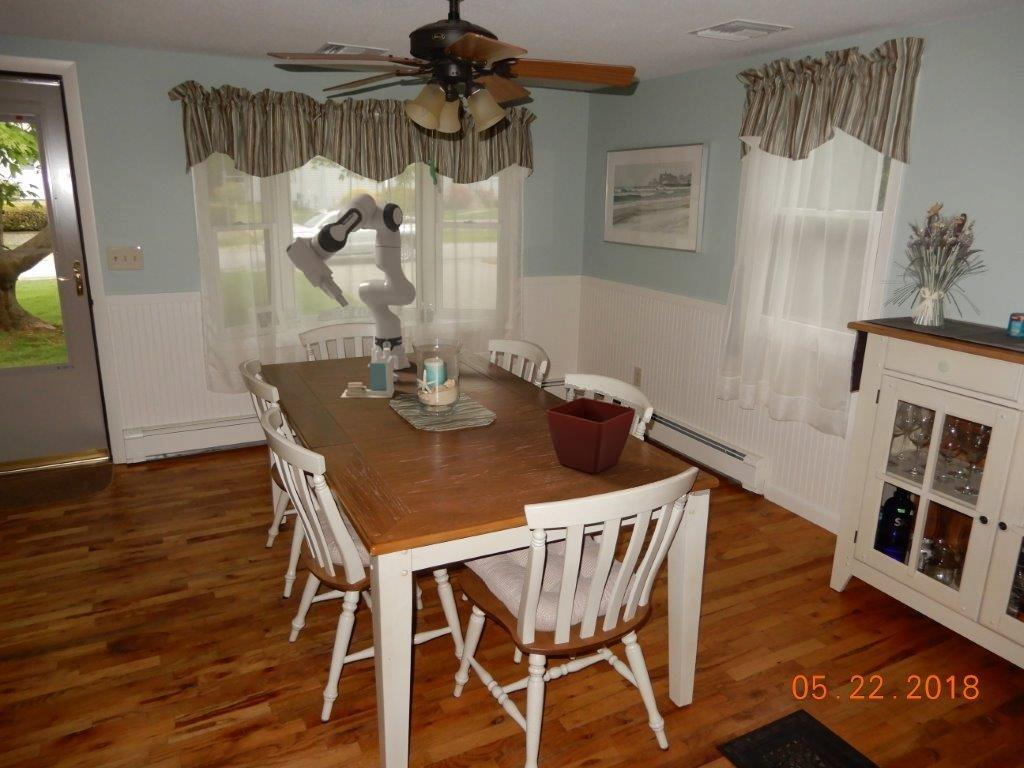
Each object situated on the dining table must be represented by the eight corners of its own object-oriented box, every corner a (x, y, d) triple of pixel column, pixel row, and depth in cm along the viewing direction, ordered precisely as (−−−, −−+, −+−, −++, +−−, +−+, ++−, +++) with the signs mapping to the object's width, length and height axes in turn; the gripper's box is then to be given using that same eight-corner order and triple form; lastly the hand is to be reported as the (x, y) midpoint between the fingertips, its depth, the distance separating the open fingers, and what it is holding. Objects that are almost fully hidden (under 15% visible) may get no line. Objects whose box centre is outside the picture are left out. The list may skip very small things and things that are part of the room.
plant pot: (580, 447, 224) (582, 396, 219) (633, 462, 212) (636, 408, 208) (543, 464, 209) (544, 409, 205) (598, 481, 198) (601, 423, 193)
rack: (346, 393, 279) (344, 355, 275) (394, 393, 280) (393, 355, 276) (340, 401, 268) (338, 362, 264) (391, 401, 269) (390, 362, 265)
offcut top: (348, 387, 275) (348, 382, 274) (362, 386, 276) (362, 382, 275) (347, 391, 269) (347, 387, 268) (362, 391, 270) (361, 386, 269)
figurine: (401, 384, 292) (401, 348, 288) (380, 387, 287) (378, 351, 283) (395, 380, 298) (394, 345, 294) (373, 383, 293) (372, 347, 289)
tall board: (371, 392, 274) (370, 362, 271) (386, 392, 275) (386, 362, 272) (370, 393, 273) (369, 363, 270) (386, 394, 273) (385, 363, 270)
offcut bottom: (349, 390, 277) (349, 385, 277) (366, 390, 277) (366, 386, 277) (345, 396, 269) (345, 391, 269) (363, 396, 270) (363, 391, 269)
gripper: (329, 269, 256) (355, 299, 260) (326, 273, 276) (350, 301, 279) (315, 280, 255) (341, 310, 259) (313, 283, 275) (337, 311, 278)
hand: (346, 305), depth 269 cm, fingers open, 8 cm apart
